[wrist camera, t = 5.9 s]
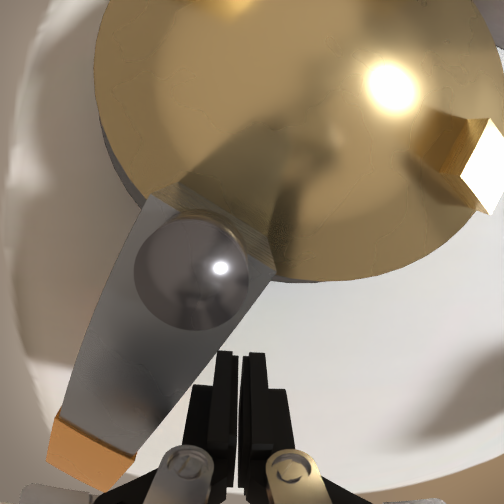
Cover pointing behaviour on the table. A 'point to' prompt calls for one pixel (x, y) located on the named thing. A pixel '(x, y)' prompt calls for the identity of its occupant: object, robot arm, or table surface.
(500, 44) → the pillar candle
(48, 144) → the table surface
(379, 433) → the table surface
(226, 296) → the gold disc lever
